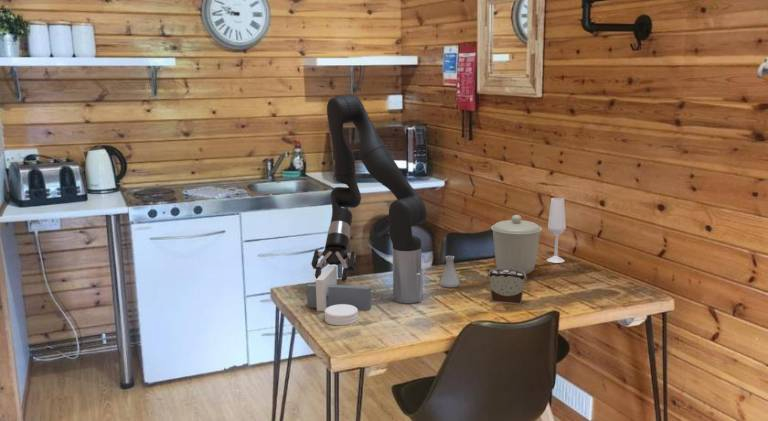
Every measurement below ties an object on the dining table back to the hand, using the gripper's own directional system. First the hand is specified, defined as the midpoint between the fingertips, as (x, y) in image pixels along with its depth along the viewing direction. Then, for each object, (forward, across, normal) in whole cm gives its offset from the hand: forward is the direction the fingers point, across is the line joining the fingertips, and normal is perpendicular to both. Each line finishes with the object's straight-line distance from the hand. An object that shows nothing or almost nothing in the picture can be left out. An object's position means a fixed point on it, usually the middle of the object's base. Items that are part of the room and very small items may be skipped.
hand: (330, 279), depth 230 cm
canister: (-23, +59, +32) cm, 71 cm away
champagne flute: (-35, +74, +44) cm, 93 cm away
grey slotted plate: (+10, +5, -2) cm, 12 cm away
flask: (-9, +37, +18) cm, 42 cm away
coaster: (+18, +8, -9) cm, 22 cm away
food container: (0, +57, +9) cm, 58 cm away
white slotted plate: (+8, 0, +1) cm, 8 cm away
